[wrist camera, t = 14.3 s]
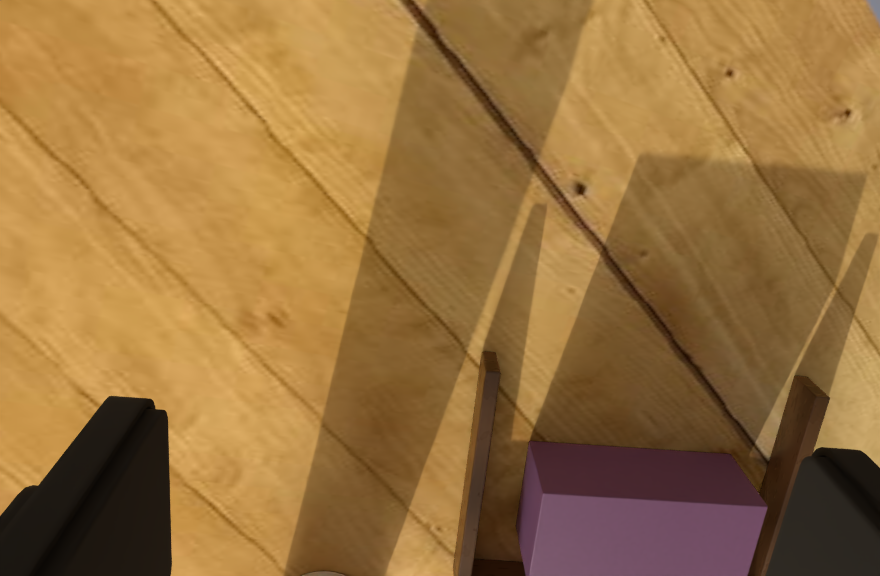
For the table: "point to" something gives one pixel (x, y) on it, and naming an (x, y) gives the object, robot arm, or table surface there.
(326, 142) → the table surface
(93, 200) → the table surface
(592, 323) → the table surface
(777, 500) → the walnut bay
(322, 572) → the coffee cup
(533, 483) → the plum block
